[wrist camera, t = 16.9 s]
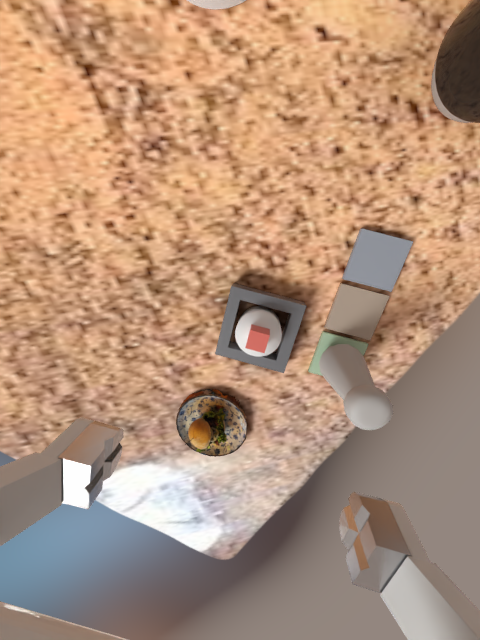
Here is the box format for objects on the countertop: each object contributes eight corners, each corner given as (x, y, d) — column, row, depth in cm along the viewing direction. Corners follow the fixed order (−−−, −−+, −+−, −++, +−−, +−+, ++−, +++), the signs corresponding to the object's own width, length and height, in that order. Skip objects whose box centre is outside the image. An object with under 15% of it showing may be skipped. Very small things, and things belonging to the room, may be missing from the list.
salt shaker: (313, 341, 36) (337, 392, 24) (356, 334, 35) (403, 383, 23) (319, 378, 38) (344, 444, 25) (360, 372, 37) (407, 438, 24)
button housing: (234, 283, 36) (231, 285, 33) (303, 301, 35) (306, 305, 33) (218, 347, 39) (215, 354, 36) (282, 365, 38) (283, 372, 36)
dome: (244, 301, 36) (239, 311, 30) (285, 312, 35) (289, 325, 30) (233, 340, 37) (227, 357, 32) (273, 351, 37) (274, 370, 31)
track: (360, 228, 32) (361, 228, 31) (410, 241, 32) (413, 241, 31) (308, 370, 38) (308, 372, 37) (350, 381, 38) (351, 383, 37)
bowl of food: (210, 459, 45) (199, 499, 38) (164, 412, 43) (144, 445, 36) (263, 426, 42) (262, 463, 35) (216, 374, 40) (205, 402, 33)
